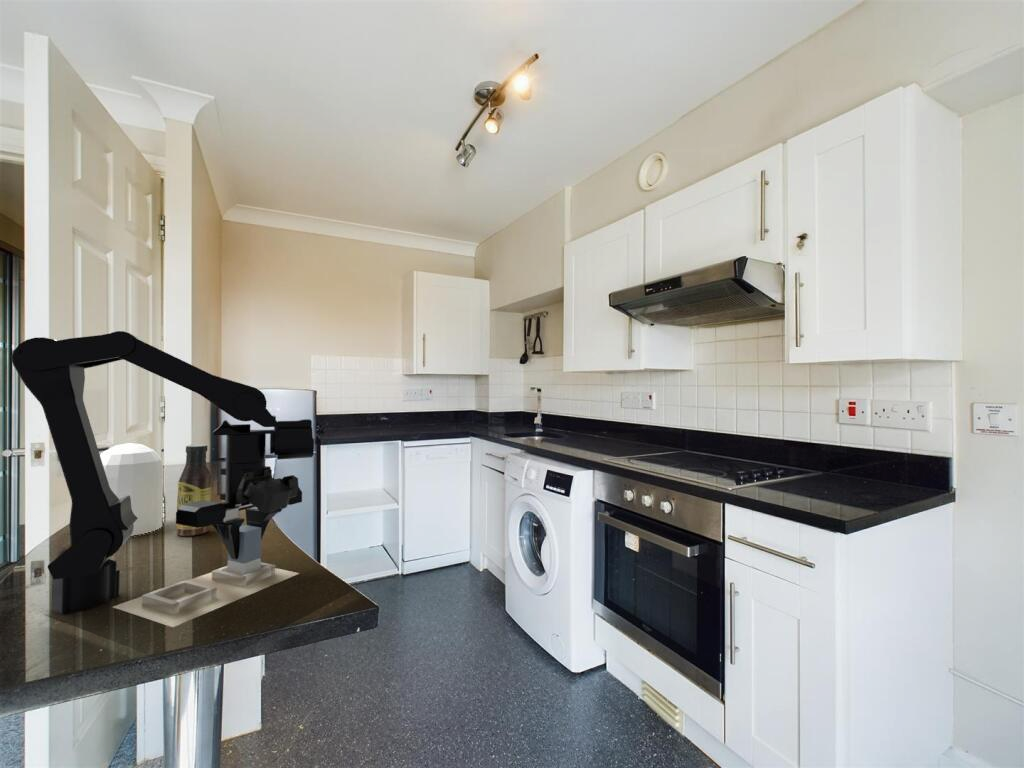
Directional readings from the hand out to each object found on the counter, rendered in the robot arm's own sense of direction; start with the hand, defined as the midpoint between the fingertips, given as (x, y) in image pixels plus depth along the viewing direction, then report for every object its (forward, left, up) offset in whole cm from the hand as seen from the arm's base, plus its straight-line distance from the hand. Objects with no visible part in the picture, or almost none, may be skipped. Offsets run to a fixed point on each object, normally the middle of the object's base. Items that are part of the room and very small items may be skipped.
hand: (244, 555), depth 77 cm
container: (+9, +52, -5) cm, 53 cm away
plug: (0, 0, -4) cm, 4 cm away
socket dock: (-5, 0, -4) cm, 7 cm away
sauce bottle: (+14, +36, -5) cm, 39 cm away
